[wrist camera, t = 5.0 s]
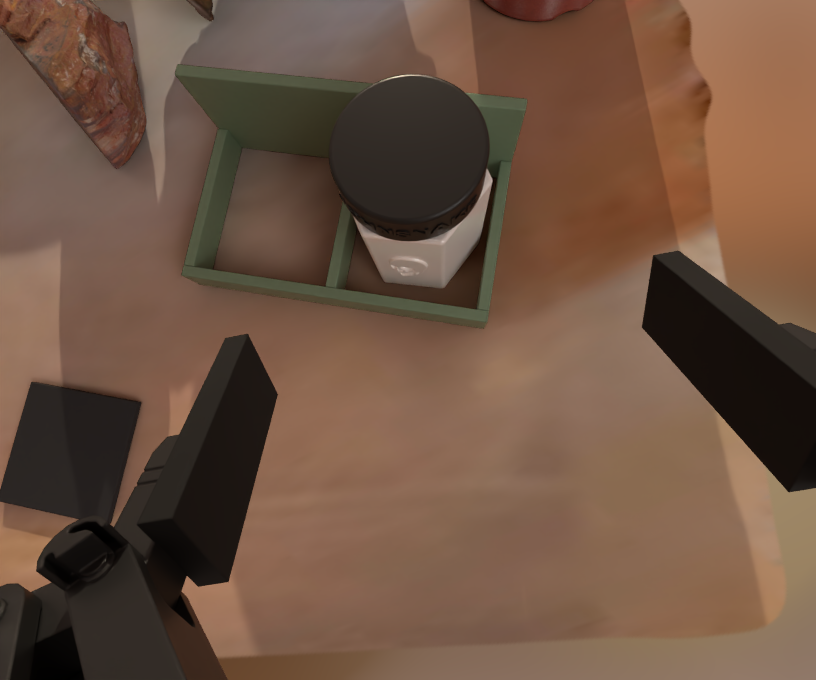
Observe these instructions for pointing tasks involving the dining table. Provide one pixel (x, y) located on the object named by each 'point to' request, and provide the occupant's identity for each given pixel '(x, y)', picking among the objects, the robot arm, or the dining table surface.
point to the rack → (310, 135)
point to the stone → (82, 67)
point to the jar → (414, 176)
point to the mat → (70, 452)
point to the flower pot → (536, 8)
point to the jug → (203, 8)
